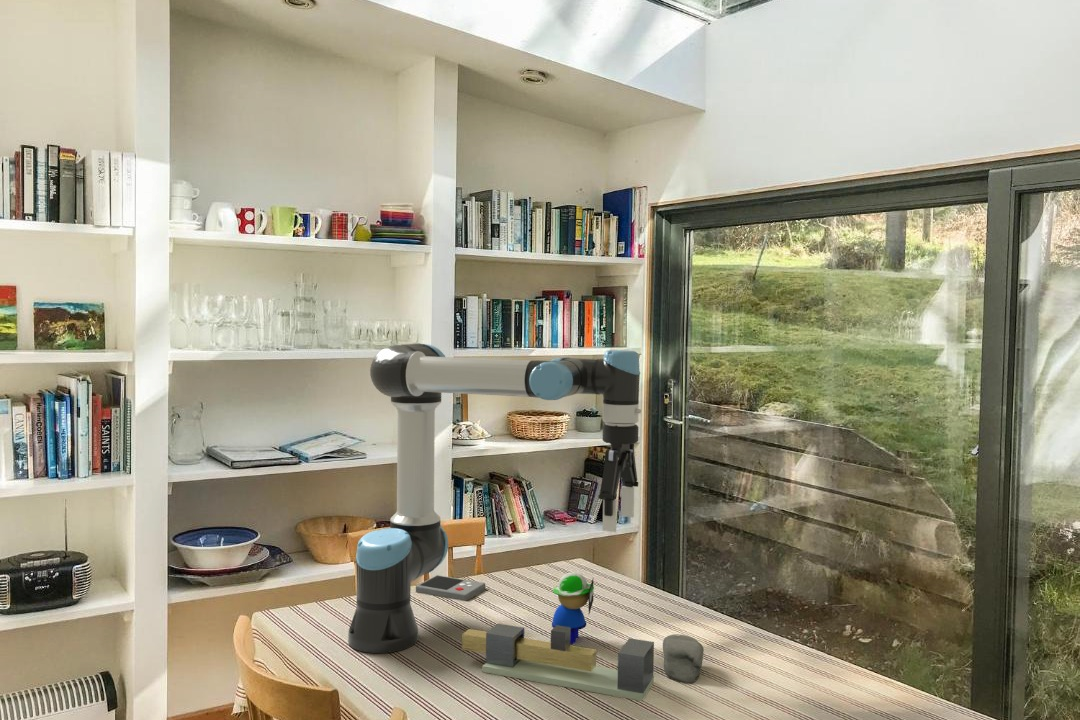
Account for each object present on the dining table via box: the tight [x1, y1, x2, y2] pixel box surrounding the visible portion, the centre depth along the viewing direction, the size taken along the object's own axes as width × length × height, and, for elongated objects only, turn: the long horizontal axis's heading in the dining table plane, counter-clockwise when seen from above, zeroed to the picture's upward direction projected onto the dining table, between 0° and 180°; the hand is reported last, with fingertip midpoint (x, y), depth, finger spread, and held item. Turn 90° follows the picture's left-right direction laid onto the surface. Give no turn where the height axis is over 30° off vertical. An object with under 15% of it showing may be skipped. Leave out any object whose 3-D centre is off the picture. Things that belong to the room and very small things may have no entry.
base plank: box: [481, 660, 655, 702], centre depth 170 cm, size 33×9×1 cm, turn 69°
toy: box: [551, 571, 595, 645], centre depth 189 cm, size 9×9×15 cm
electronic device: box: [415, 574, 486, 602], centre depth 221 cm, size 10×2×15 cm
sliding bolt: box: [461, 625, 598, 672], centre depth 172 cm, size 28×3×7 cm, turn 69°
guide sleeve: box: [485, 623, 525, 668], centre depth 174 cm, size 6×6×6 cm
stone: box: [662, 633, 705, 684], centre depth 173 cm, size 9×9×10 cm
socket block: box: [617, 637, 655, 694], centre depth 164 cm, size 5×8×7 cm, turn 159°
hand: (618, 523), depth 180 cm, fingers open, 13 cm apart
